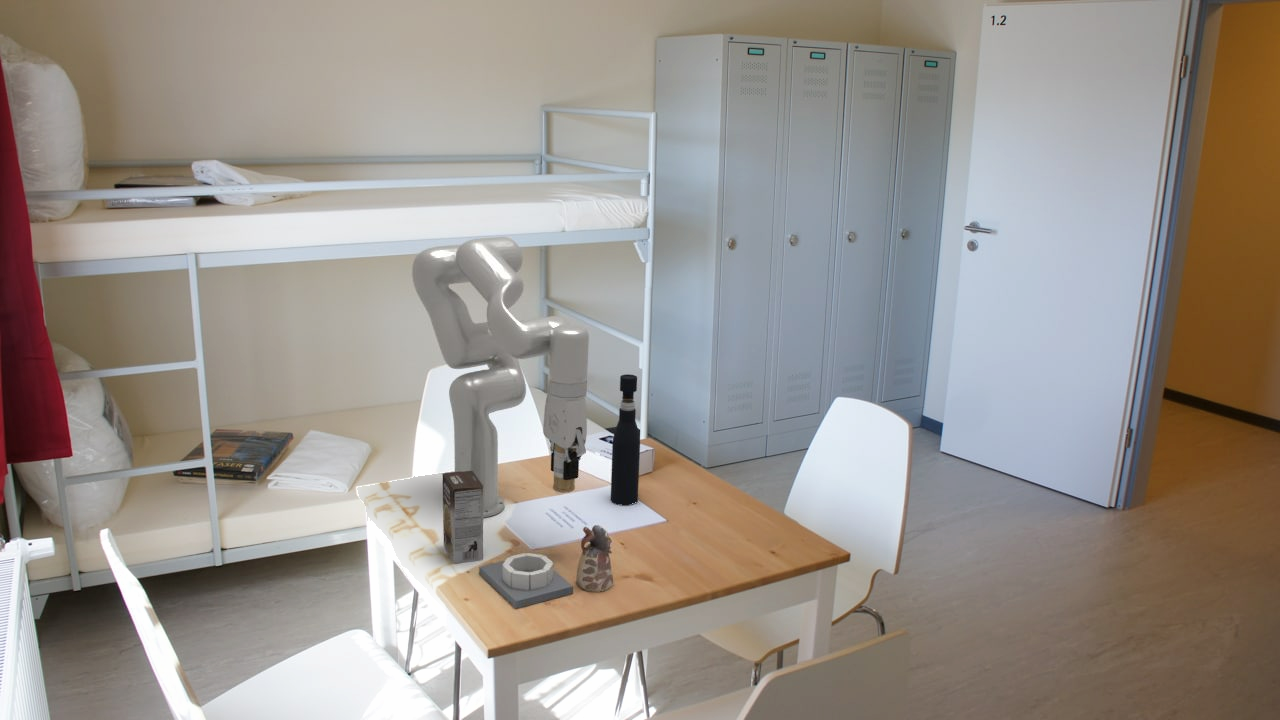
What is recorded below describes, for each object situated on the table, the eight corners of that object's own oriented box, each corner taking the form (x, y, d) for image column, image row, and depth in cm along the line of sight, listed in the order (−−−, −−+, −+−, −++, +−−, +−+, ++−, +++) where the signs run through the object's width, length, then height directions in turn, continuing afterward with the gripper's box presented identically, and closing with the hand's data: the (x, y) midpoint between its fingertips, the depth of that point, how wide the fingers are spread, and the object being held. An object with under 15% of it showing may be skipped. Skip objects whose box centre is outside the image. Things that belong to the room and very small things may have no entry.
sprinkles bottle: (579, 491, 202) (581, 428, 199) (559, 495, 200) (561, 431, 196) (567, 483, 206) (570, 421, 202) (548, 487, 204) (550, 424, 200)
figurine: (616, 591, 191) (618, 532, 188) (579, 593, 190) (581, 534, 187) (609, 574, 198) (611, 517, 195) (574, 576, 196) (575, 519, 193)
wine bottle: (617, 507, 230) (622, 381, 223) (605, 497, 236) (609, 374, 228) (642, 503, 233) (647, 378, 226) (630, 493, 239) (634, 371, 231)
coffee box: (442, 546, 207) (441, 472, 203) (472, 541, 210) (472, 469, 206) (452, 564, 199) (451, 488, 195) (484, 560, 202) (484, 484, 197)
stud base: (479, 573, 196) (479, 552, 195) (533, 560, 202) (534, 539, 201) (515, 608, 183) (516, 586, 182) (573, 593, 189) (573, 571, 188)
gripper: (530, 378, 202) (528, 463, 207) (572, 402, 188) (568, 492, 193) (563, 374, 206) (560, 457, 211) (606, 397, 193) (601, 486, 197)
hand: (564, 473), depth 202 cm, fingers closed on sprinkles bottle, 4 cm apart
